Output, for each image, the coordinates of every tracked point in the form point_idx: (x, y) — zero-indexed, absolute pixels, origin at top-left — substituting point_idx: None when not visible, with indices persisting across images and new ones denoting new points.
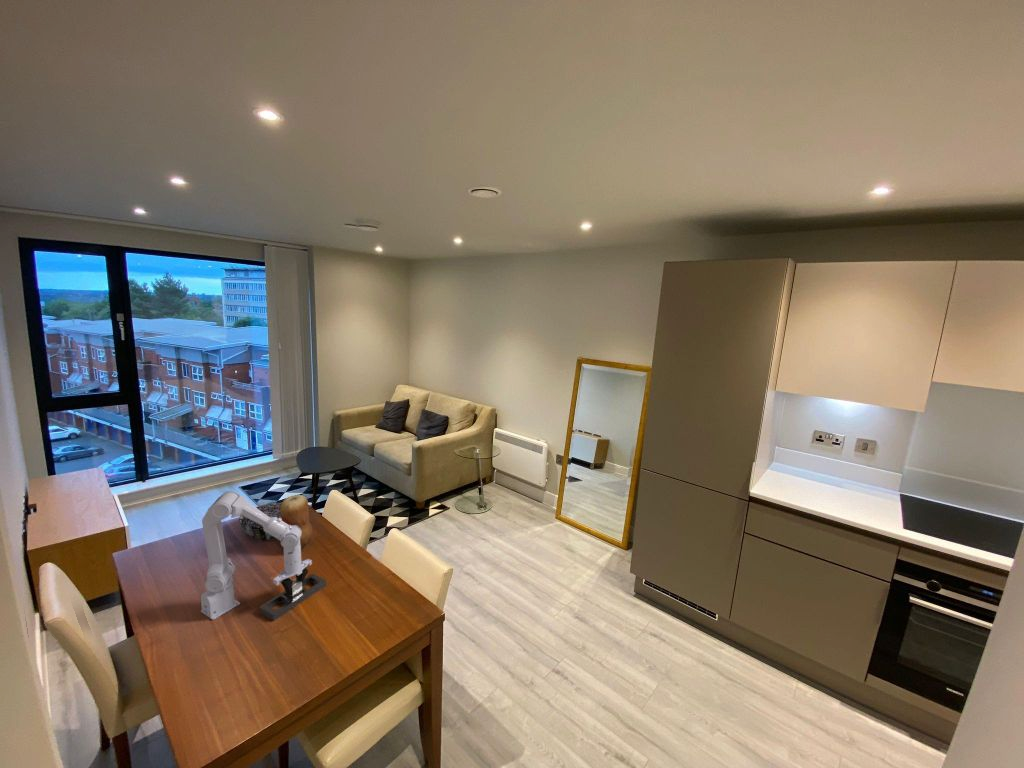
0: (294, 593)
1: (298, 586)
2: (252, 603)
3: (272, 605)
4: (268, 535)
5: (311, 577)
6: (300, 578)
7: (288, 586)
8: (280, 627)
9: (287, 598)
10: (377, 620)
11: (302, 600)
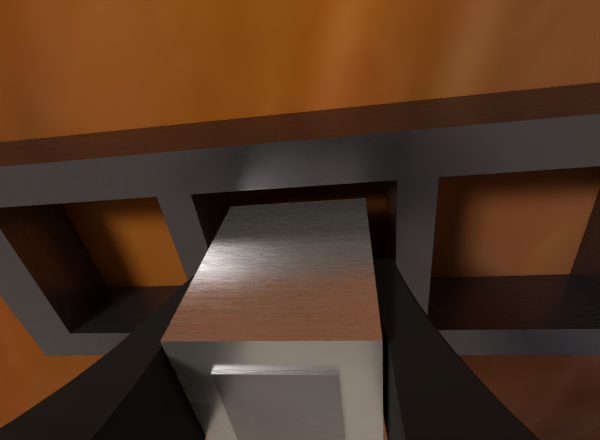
0: (338, 240)
1: (251, 296)
2: (532, 402)
3: (511, 288)
4: None
5: (66, 323)
6: (148, 420)
7: (522, 437)
8: None
9: (415, 246)
10: None
11: (277, 119)
